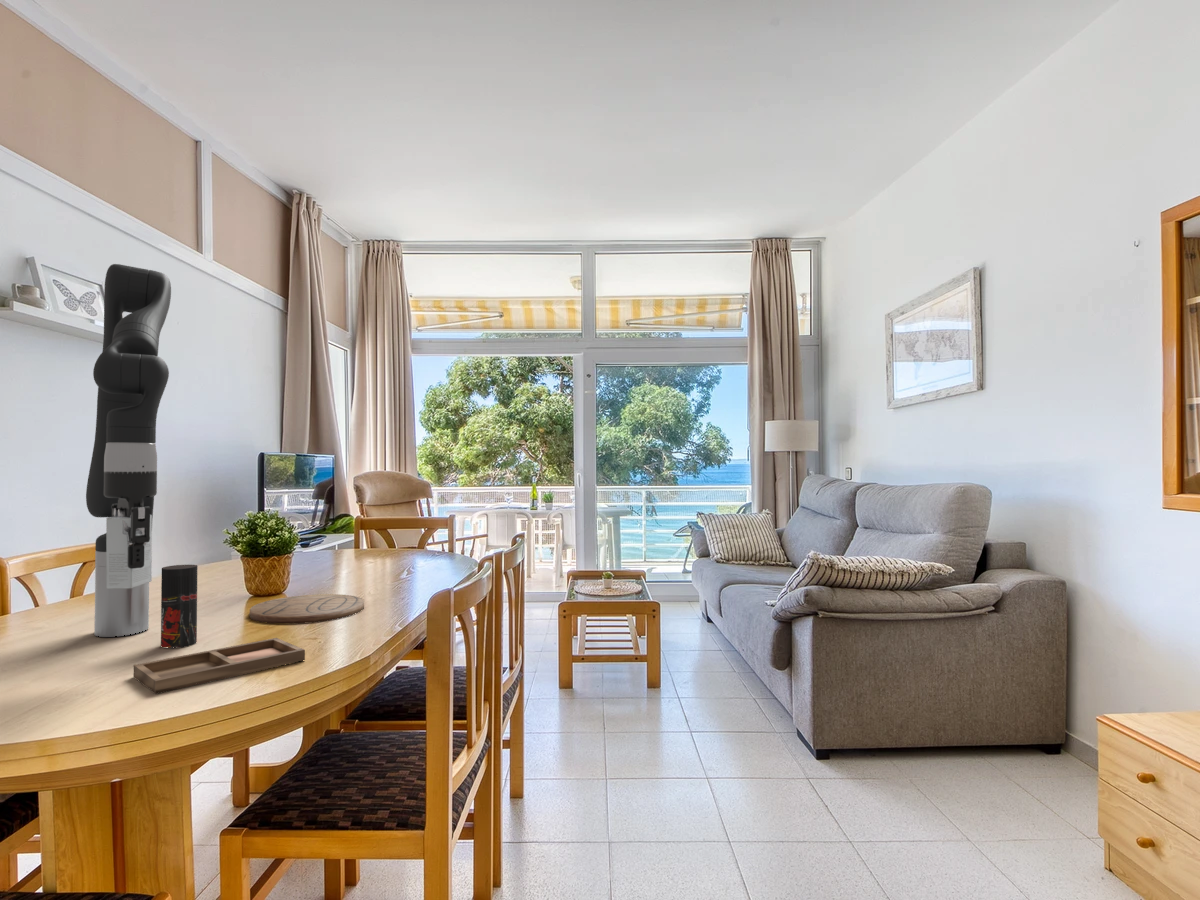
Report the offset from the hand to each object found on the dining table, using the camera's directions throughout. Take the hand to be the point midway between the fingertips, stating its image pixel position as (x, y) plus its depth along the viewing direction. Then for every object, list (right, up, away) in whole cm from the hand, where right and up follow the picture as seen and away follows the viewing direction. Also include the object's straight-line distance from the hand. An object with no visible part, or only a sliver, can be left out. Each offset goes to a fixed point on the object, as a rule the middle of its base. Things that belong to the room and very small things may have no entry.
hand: (129, 565), depth 116 cm
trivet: (+12, -19, +44) cm, 49 cm away
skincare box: (0, -4, 0) cm, 4 cm away
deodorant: (-1, -18, +15) cm, 24 cm away
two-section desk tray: (+16, -18, 0) cm, 24 cm away
